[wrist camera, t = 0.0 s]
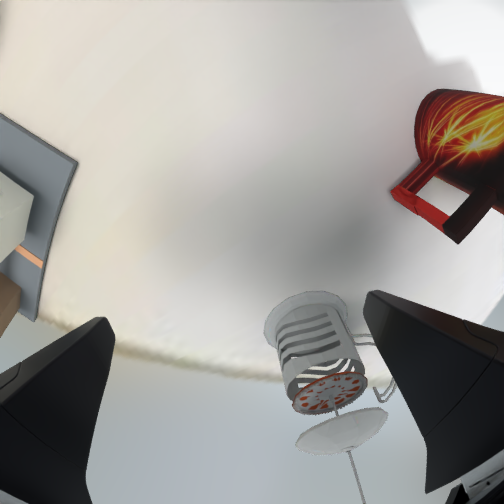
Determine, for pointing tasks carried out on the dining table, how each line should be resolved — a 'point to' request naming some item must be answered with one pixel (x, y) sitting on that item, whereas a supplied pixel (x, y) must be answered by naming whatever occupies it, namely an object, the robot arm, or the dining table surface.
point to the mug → (458, 157)
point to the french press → (323, 372)
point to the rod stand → (30, 215)
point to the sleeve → (12, 214)
